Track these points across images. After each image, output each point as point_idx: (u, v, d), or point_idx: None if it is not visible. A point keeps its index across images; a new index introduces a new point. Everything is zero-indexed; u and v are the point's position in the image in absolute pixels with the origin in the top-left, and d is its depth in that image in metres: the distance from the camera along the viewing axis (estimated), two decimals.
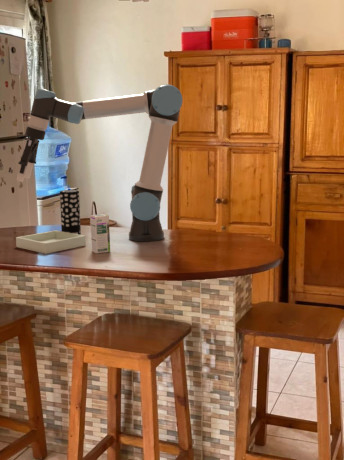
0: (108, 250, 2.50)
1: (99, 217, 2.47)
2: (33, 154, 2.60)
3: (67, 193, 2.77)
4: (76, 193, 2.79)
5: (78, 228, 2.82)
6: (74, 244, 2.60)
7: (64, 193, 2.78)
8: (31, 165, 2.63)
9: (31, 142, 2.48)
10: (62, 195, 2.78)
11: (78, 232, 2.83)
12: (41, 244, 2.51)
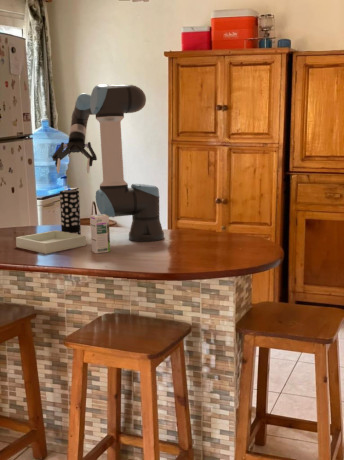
0: (108, 250, 2.50)
1: (99, 217, 2.47)
2: (83, 152, 2.95)
3: (67, 193, 2.77)
4: (76, 193, 2.79)
5: (78, 228, 2.82)
6: (74, 244, 2.60)
7: (64, 193, 2.78)
8: None
9: None
10: (62, 195, 2.78)
11: (78, 232, 2.83)
12: (41, 244, 2.51)
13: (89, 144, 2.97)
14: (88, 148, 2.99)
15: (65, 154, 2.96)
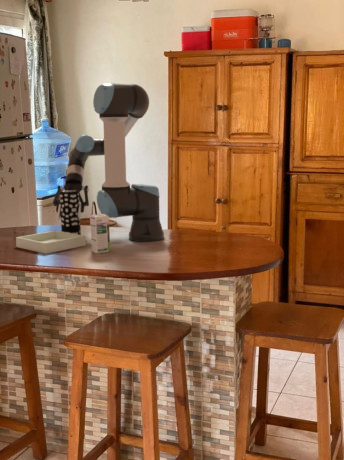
0: (108, 250, 2.50)
1: (99, 217, 2.47)
2: None
3: (67, 193, 2.77)
4: (76, 193, 2.79)
5: (78, 228, 2.82)
6: (74, 244, 2.60)
7: (64, 193, 2.78)
8: (79, 206, 2.83)
9: (58, 187, 2.89)
10: (62, 195, 2.78)
11: (78, 232, 2.83)
12: (41, 244, 2.51)
13: (86, 188, 2.88)
14: None
15: None
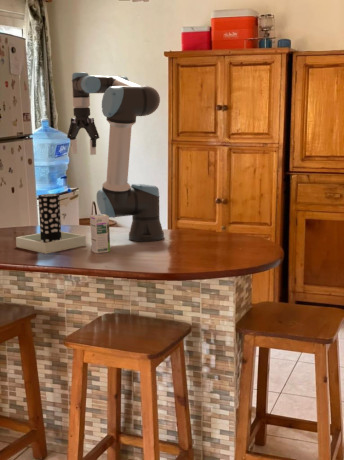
0: (108, 250, 2.50)
1: (99, 217, 2.47)
2: None
3: (46, 197, 2.56)
4: (56, 197, 2.58)
5: (58, 235, 2.61)
6: (74, 244, 2.60)
7: (43, 197, 2.57)
8: None
9: None
10: (41, 199, 2.57)
11: (58, 239, 2.61)
12: (41, 244, 2.51)
13: (89, 121, 2.90)
14: None
15: (76, 131, 2.99)
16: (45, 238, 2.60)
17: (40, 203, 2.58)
